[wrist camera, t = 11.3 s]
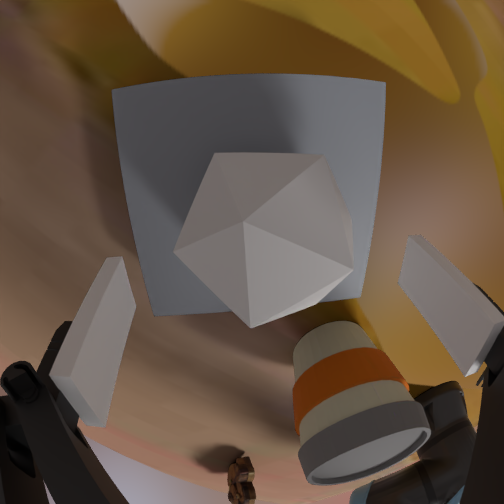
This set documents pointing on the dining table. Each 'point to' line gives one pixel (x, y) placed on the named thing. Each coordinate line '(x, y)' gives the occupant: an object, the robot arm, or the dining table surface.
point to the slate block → (236, 141)
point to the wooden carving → (241, 482)
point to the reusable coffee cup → (351, 406)
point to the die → (268, 233)
